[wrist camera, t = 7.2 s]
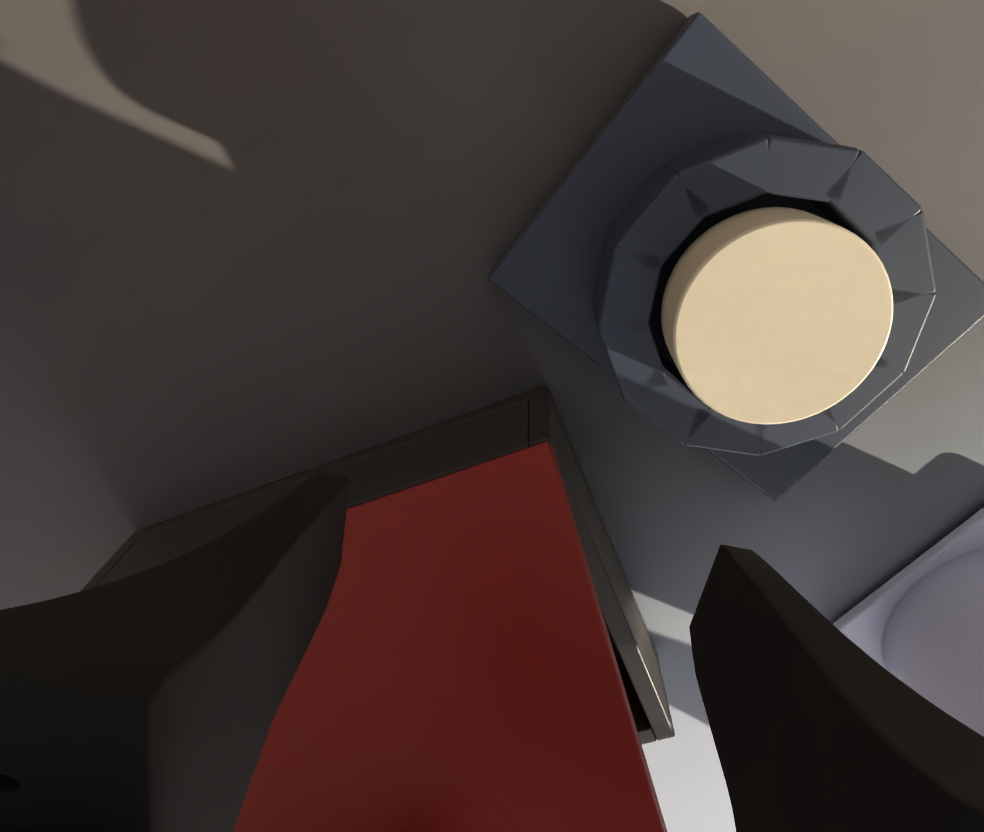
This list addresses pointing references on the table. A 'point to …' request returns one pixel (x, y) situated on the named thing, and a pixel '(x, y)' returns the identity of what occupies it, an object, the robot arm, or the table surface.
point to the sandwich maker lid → (458, 675)
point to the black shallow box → (431, 459)
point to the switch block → (697, 207)
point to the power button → (776, 315)
